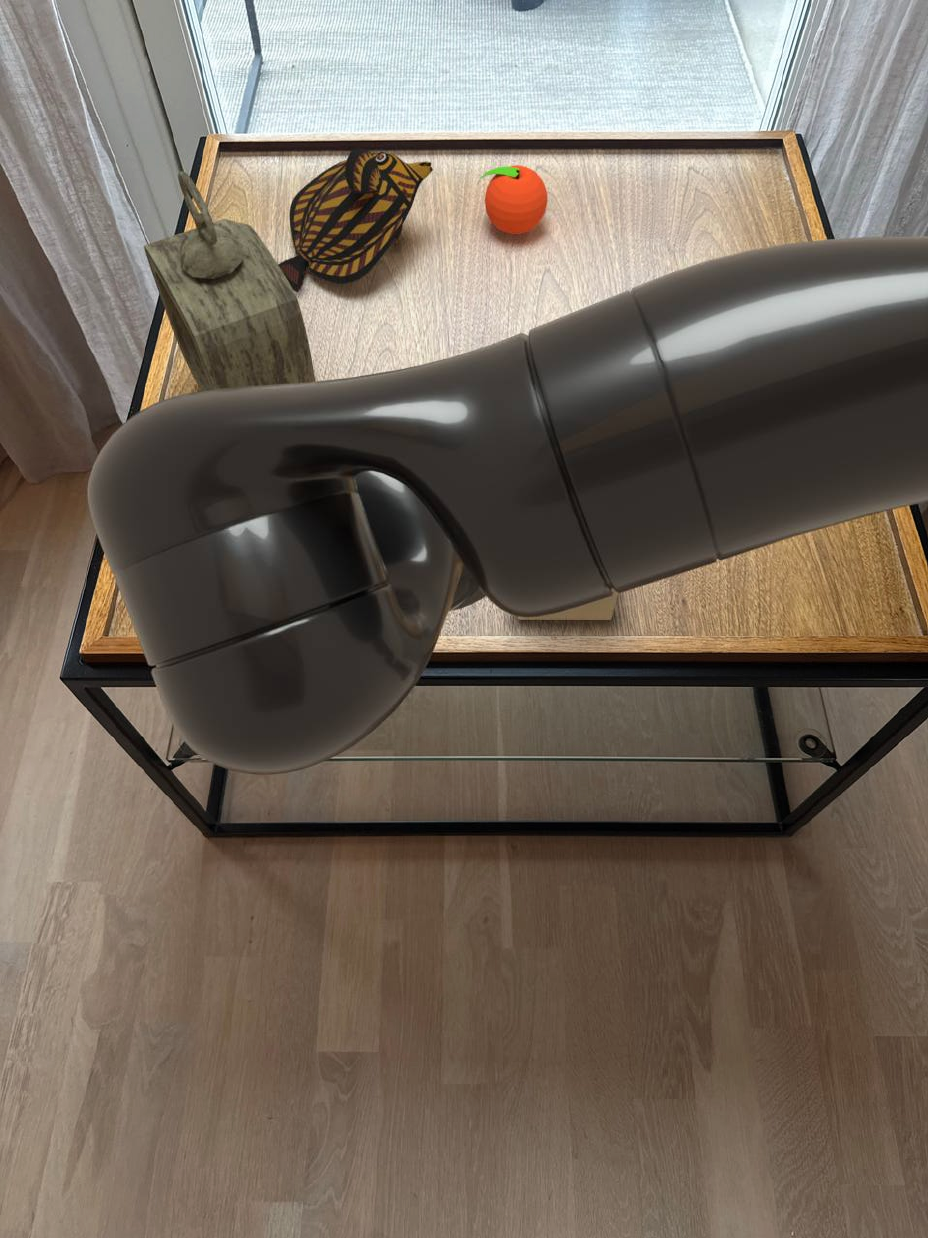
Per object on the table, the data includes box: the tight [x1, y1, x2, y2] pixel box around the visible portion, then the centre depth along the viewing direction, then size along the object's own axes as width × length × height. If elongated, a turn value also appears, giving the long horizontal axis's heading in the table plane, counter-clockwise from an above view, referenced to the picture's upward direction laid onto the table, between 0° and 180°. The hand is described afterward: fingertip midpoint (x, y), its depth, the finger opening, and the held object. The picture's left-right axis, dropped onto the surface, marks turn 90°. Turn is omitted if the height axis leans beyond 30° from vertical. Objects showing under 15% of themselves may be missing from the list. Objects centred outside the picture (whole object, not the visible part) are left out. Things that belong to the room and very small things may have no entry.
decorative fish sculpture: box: [277, 148, 434, 292], centre depth 97 cm, size 14×16×12 cm
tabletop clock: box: [143, 171, 316, 392], centre depth 80 cm, size 14×9×25 cm, turn 29°
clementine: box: [476, 164, 549, 235], centre depth 101 cm, size 8×7×7 cm
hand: (537, 492), depth 56 cm, fingers open, 8 cm apart
